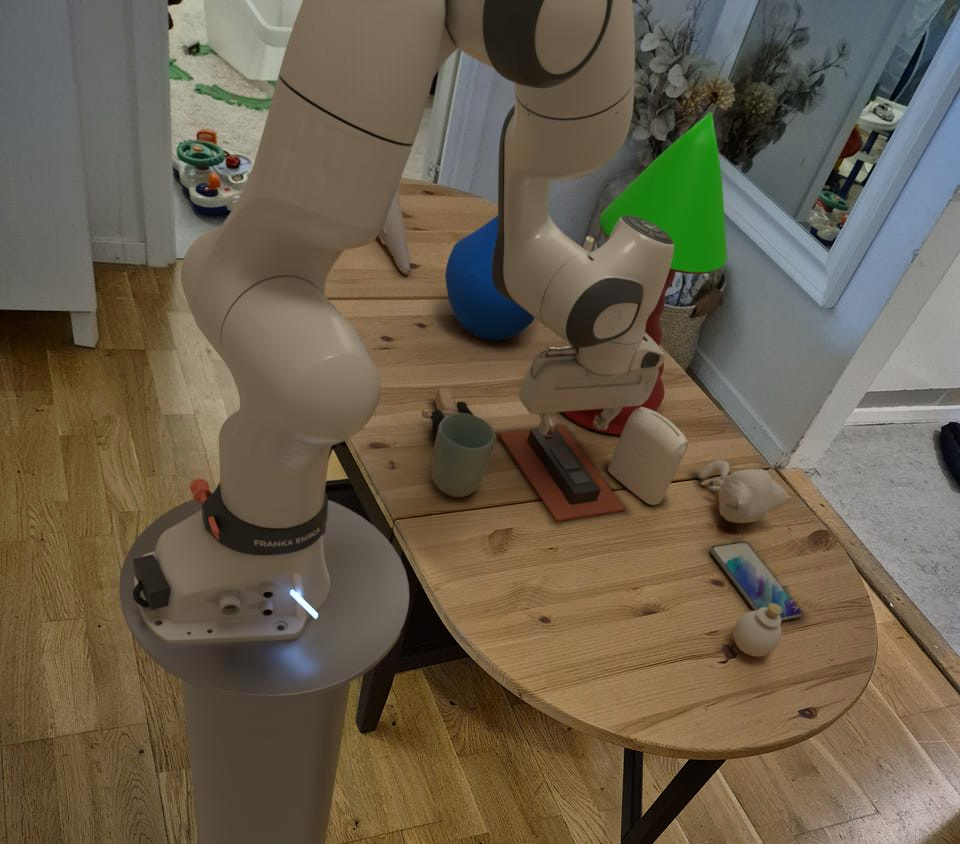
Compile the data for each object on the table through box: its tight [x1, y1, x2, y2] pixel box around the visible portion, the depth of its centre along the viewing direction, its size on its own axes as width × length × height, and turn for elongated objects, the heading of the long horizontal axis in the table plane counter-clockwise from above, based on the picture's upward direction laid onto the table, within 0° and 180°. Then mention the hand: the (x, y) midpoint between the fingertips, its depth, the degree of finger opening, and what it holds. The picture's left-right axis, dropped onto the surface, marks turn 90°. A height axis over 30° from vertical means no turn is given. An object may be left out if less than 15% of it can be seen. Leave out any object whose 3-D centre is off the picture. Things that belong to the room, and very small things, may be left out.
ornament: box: [732, 596, 804, 657], centre depth 107 cm, size 6×7×10 cm
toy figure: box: [421, 387, 474, 438], centre depth 125 cm, size 7×6×15 cm
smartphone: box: [709, 540, 803, 622], centre depth 119 cm, size 7×1×15 cm
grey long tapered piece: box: [379, 187, 411, 276], centre depth 161 cm, size 8×9×26 cm
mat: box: [498, 425, 626, 523], centre depth 126 cm, size 12×20×1 cm, turn 24°
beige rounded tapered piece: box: [695, 460, 791, 524], centre depth 128 cm, size 10×8×15 cm
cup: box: [430, 412, 496, 498], centre depth 115 cm, size 8×8×10 cm
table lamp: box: [561, 111, 728, 436], centre depth 125 cm, size 20×20×45 cm
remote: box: [527, 426, 601, 505], centre depth 125 cm, size 15×5×2 cm, turn 24°
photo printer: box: [607, 407, 689, 506], centre depth 124 cm, size 10×4×12 cm, turn 41°
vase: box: [444, 214, 536, 341], centre depth 138 cm, size 18×18×30 cm
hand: (572, 430), depth 120 cm, fingers open, 8 cm apart
